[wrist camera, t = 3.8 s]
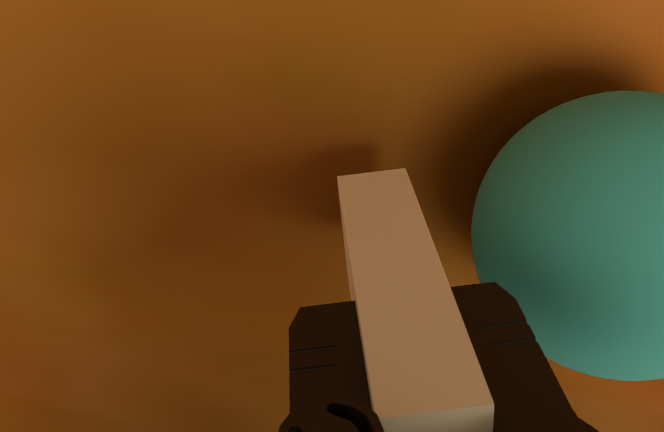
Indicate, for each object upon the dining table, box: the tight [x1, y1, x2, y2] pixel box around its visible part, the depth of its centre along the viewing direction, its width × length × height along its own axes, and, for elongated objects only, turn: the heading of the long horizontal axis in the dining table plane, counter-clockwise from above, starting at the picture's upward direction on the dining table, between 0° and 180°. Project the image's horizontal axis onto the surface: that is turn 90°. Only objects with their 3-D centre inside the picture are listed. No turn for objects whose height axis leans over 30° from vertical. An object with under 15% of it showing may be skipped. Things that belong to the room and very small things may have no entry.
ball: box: [471, 90, 664, 381], centre depth 13 cm, size 6×6×6 cm
